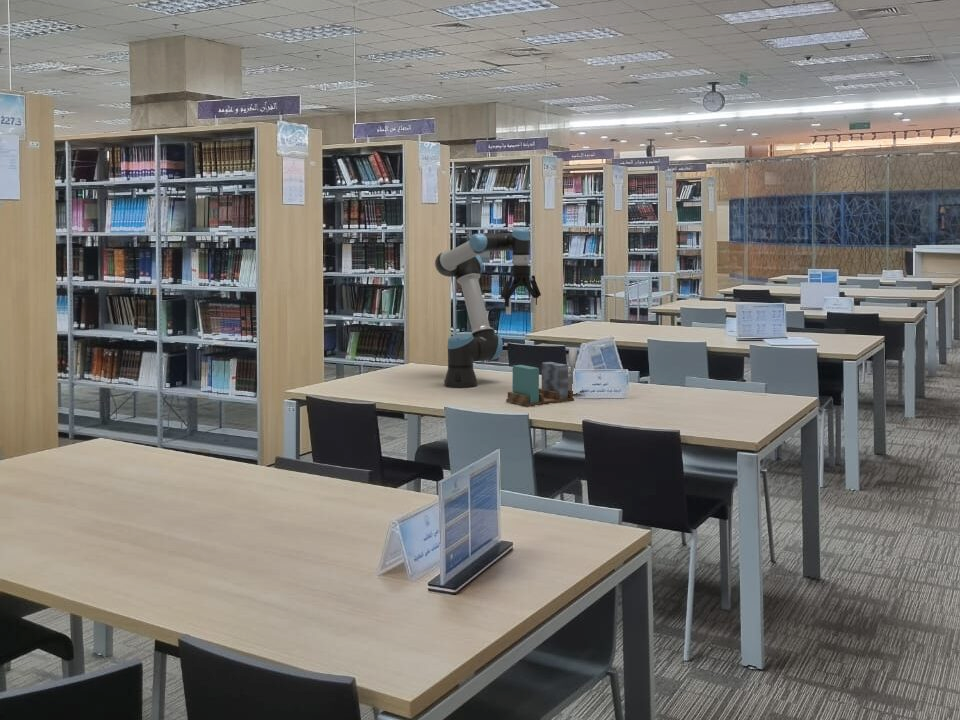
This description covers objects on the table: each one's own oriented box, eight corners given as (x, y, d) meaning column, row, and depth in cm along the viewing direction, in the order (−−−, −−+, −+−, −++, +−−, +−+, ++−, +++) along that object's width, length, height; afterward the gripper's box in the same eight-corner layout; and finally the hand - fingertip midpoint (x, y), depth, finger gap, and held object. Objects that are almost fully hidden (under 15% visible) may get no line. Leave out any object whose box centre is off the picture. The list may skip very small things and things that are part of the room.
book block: (512, 398, 409) (512, 365, 407) (521, 397, 412) (521, 364, 410) (530, 403, 400) (530, 369, 398) (538, 401, 402) (539, 368, 400)
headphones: (582, 397, 420) (583, 350, 417) (561, 396, 421) (561, 350, 418) (584, 390, 438) (585, 345, 435) (564, 389, 439) (564, 345, 437)
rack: (506, 402, 409) (506, 365, 407) (552, 395, 423) (553, 361, 421) (526, 407, 397) (526, 369, 395) (573, 400, 412) (574, 364, 409)
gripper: (503, 265, 417) (503, 315, 419) (548, 264, 431) (548, 312, 433) (492, 265, 423) (492, 314, 426) (538, 263, 437) (538, 311, 440)
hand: (520, 313), depth 430 cm, fingers open, 13 cm apart
